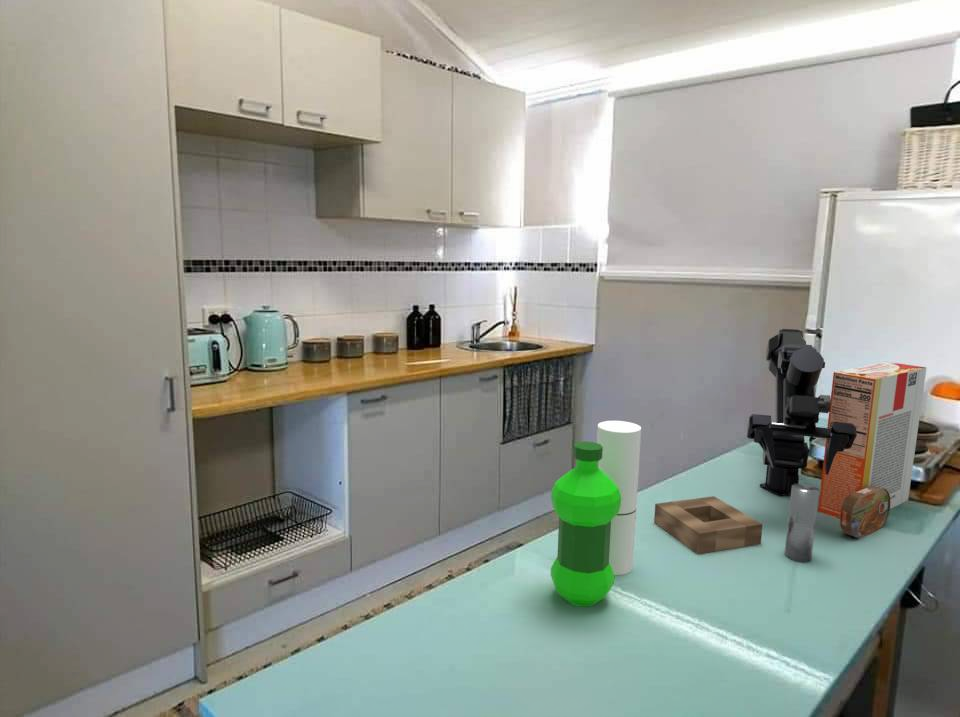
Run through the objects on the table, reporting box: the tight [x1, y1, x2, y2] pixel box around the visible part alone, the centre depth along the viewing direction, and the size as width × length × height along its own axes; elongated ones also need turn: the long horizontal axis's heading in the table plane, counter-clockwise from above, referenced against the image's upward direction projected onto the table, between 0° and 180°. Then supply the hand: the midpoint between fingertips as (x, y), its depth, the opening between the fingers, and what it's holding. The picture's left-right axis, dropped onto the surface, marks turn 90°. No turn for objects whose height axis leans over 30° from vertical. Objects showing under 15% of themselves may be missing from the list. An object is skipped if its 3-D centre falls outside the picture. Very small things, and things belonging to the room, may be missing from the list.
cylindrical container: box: [596, 420, 642, 576], centre depth 112 cm, size 7×7×25 cm
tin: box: [839, 486, 891, 539], centre depth 129 cm, size 15×3×8 cm, turn 124°
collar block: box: [653, 495, 764, 555], centre depth 127 cm, size 14×14×4 cm
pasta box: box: [817, 361, 927, 520], centre depth 139 cm, size 23×8×30 cm, turn 125°
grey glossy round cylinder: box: [784, 483, 820, 563], centre depth 117 cm, size 4×4×13 cm
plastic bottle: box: [550, 441, 621, 608], centre depth 101 cm, size 10×10×25 cm
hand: (800, 470), depth 124 cm, fingers open, 9 cm apart
